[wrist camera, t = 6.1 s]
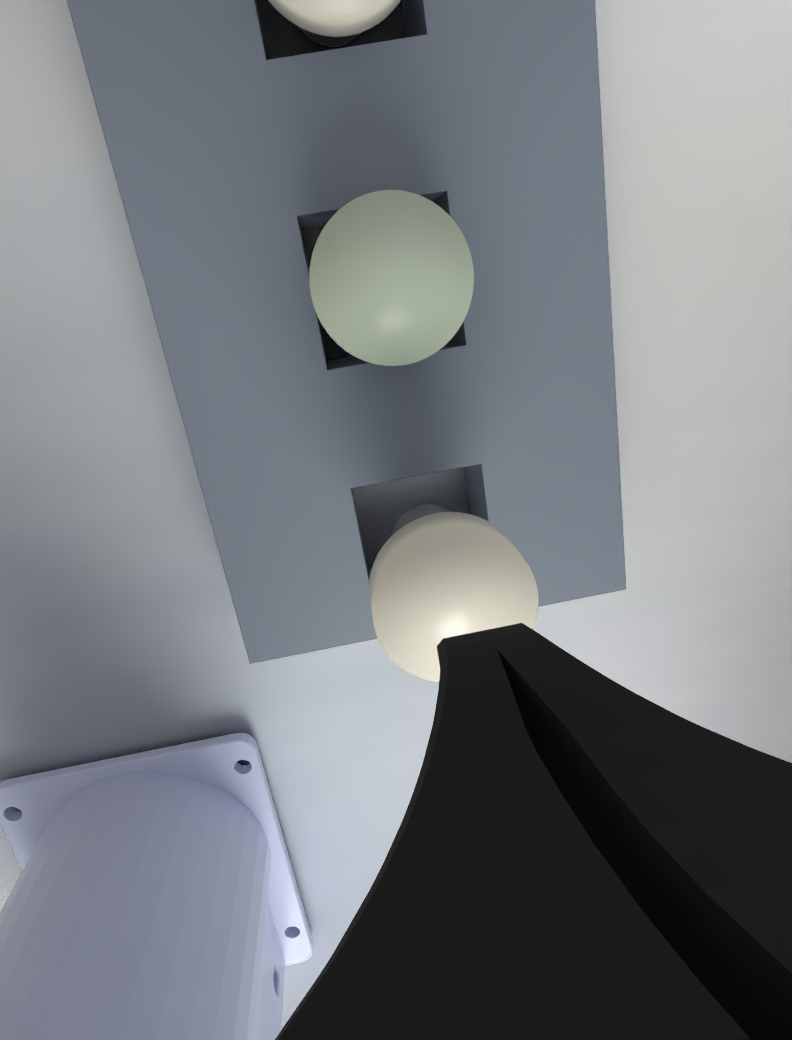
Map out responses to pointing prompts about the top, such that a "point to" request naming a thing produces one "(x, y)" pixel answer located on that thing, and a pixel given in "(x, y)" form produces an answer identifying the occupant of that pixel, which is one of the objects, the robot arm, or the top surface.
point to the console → (287, 298)
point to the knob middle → (391, 277)
